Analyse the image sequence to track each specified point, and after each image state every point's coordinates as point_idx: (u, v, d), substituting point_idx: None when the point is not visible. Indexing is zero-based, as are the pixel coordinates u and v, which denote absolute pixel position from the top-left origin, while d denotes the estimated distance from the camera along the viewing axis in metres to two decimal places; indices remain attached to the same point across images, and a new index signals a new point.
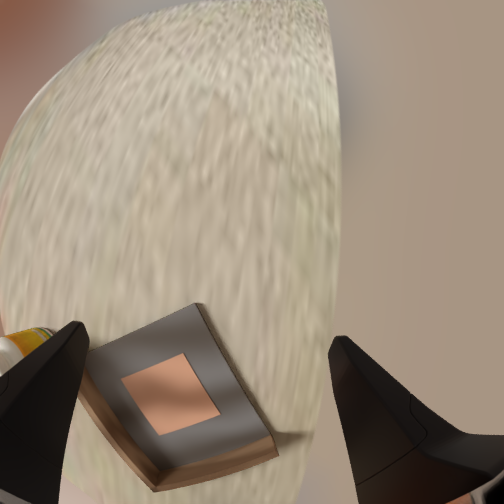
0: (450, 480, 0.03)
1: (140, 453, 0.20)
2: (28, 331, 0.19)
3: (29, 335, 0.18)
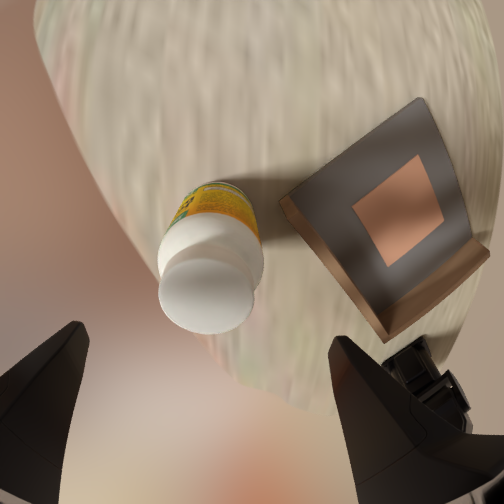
0: (450, 480, 0.03)
1: (366, 300, 0.23)
2: (205, 192, 0.16)
3: (218, 195, 0.15)
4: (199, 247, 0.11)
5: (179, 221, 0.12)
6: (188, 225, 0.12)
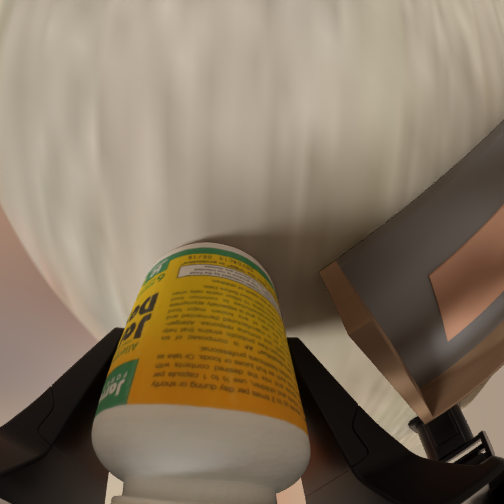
0: None
1: (415, 382, 0.14)
2: (180, 286, 0.07)
3: (208, 302, 0.07)
4: None
5: (115, 412, 0.04)
6: (134, 442, 0.03)
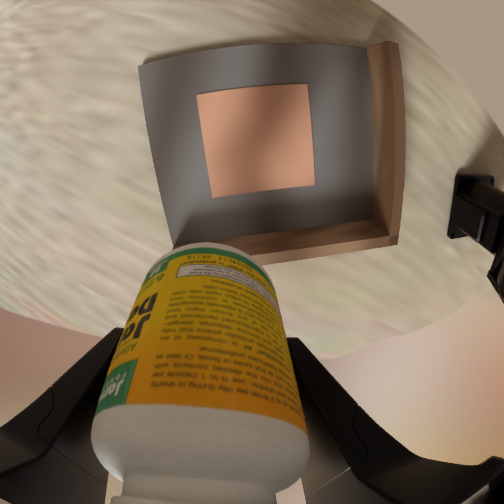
0: None
1: (334, 228, 0.19)
2: (179, 287, 0.07)
3: (206, 302, 0.07)
4: None
5: (114, 412, 0.04)
6: (133, 442, 0.03)
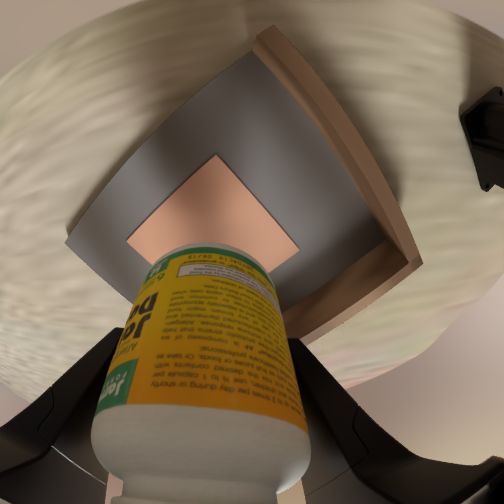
0: None
1: (346, 276, 0.16)
2: (180, 286, 0.07)
3: (207, 302, 0.06)
4: None
5: (114, 412, 0.04)
6: (134, 443, 0.03)
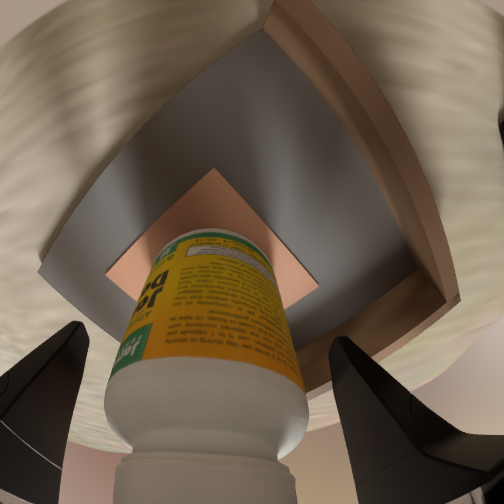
0: (450, 480, 0.03)
1: (371, 314, 0.13)
2: (188, 263, 0.08)
3: (214, 275, 0.07)
4: (180, 475, 0.03)
5: (130, 369, 0.05)
6: (148, 393, 0.04)
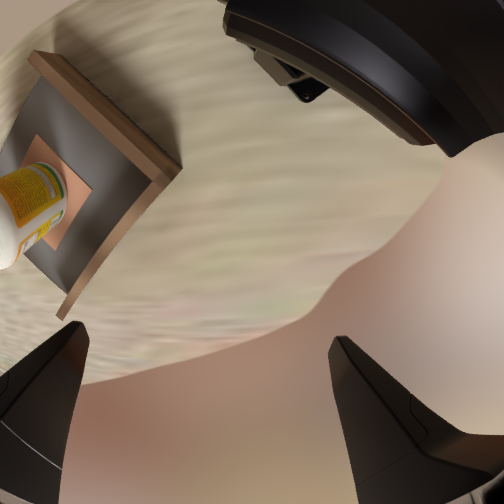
0: (450, 480, 0.03)
1: None
2: None
3: (12, 172, 0.12)
4: None
5: None
6: None
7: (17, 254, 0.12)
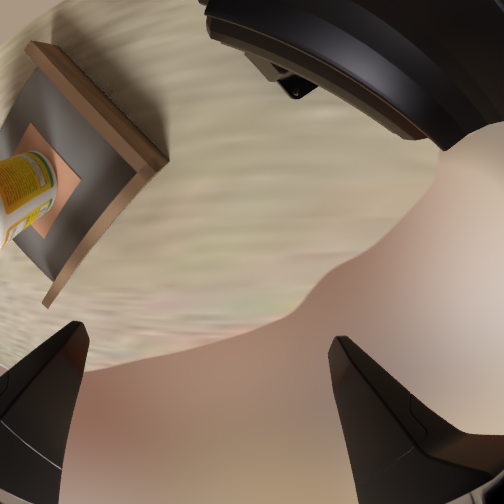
0: (450, 480, 0.03)
1: None
2: None
3: None
4: None
5: None
6: None
7: (5, 240, 0.11)
